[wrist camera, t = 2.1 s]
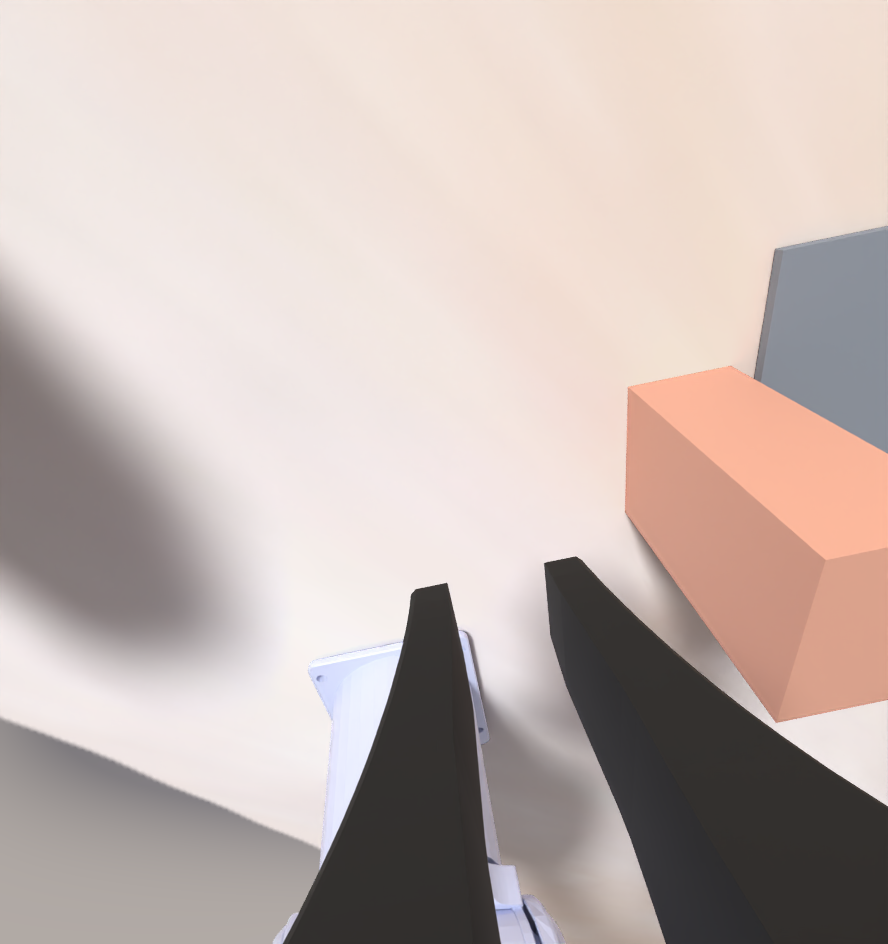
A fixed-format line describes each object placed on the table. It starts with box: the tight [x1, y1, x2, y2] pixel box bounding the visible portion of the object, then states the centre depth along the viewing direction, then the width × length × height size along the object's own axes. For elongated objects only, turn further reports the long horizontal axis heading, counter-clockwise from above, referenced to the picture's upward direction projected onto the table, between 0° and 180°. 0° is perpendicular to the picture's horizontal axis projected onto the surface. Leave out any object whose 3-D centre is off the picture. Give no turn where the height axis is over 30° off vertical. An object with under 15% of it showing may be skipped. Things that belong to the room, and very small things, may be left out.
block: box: [625, 366, 888, 723], centre depth 16 cm, size 6×4×10 cm, turn 10°
